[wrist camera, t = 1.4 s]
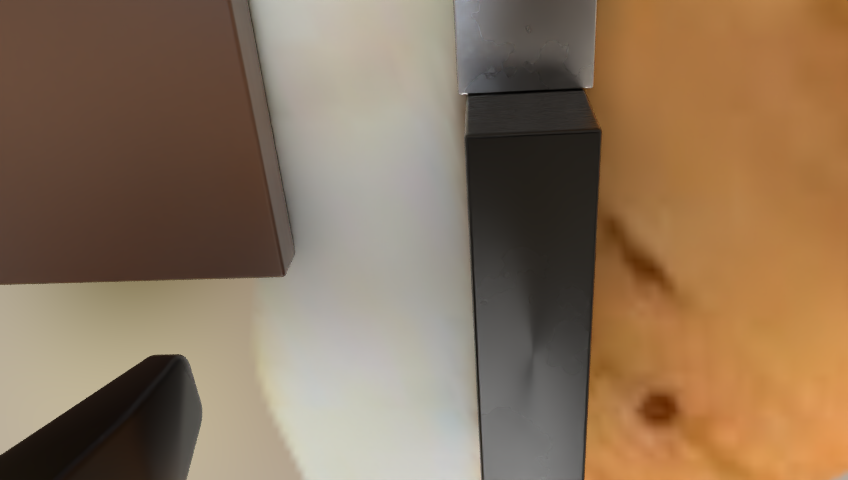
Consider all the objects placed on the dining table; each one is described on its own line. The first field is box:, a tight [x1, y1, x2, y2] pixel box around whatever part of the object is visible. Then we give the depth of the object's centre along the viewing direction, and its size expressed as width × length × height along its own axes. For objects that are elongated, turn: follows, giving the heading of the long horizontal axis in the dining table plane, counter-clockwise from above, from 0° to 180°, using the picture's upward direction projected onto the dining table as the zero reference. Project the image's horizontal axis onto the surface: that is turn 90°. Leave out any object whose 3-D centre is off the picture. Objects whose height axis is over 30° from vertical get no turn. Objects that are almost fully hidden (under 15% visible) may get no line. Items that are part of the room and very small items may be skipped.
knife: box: [453, 0, 602, 480], centre depth 12 cm, size 21×2×2 cm, turn 4°
